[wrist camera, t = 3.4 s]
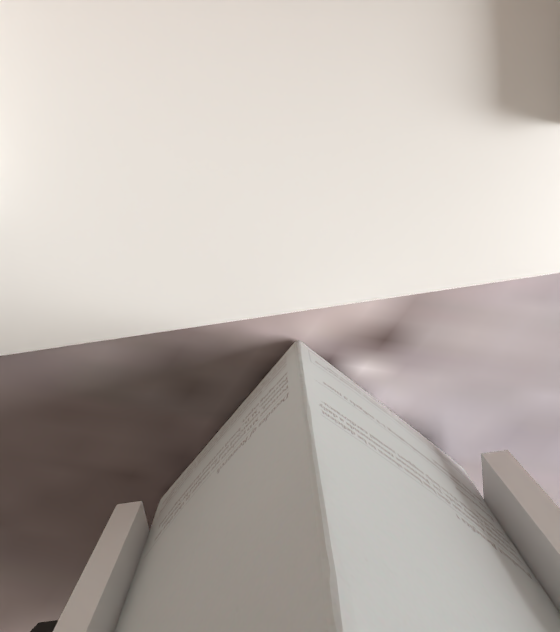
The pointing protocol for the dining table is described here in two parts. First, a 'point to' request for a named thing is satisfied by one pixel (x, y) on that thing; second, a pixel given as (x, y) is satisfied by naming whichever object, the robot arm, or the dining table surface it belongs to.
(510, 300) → the dining table surface
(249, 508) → the supplement box
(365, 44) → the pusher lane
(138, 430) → the dining table surface
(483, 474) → the robot arm
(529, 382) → the dining table surface
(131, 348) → the dining table surface
